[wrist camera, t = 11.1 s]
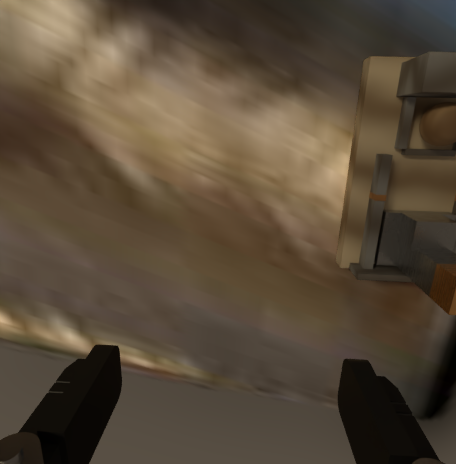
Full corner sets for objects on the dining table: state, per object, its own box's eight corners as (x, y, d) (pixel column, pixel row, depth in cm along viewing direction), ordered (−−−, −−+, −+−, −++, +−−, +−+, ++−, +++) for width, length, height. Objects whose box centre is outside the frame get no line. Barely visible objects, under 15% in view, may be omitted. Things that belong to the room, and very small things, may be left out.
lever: (381, 209, 36) (439, 245, 25) (449, 212, 35) (538, 249, 25) (372, 260, 38) (423, 314, 27) (437, 263, 37) (514, 319, 27)
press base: (363, 60, 33) (393, 44, 27) (506, 63, 33) (572, 47, 26) (335, 261, 40) (353, 288, 34) (453, 266, 40) (495, 294, 33)
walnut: (415, 102, 33) (438, 99, 29) (457, 103, 32) (485, 100, 29) (407, 144, 34) (428, 146, 30) (447, 145, 34) (473, 148, 30)
